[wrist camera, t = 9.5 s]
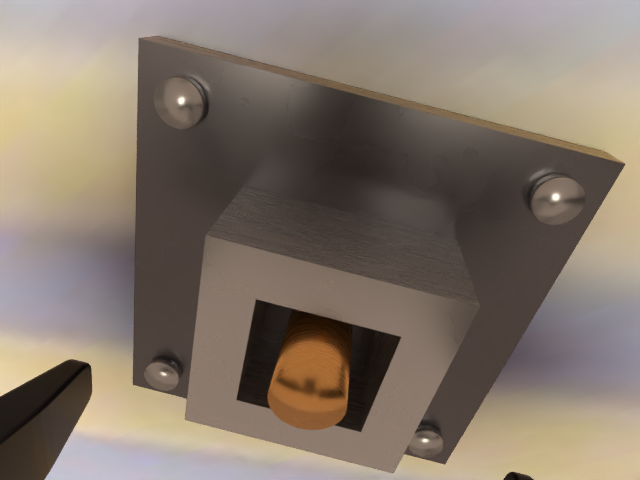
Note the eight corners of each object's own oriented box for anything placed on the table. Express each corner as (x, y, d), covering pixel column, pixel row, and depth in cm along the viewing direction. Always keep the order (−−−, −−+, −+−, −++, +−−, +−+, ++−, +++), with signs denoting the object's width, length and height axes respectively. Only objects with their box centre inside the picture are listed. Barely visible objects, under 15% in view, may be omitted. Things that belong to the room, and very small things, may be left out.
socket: (456, 240, 12) (480, 306, 9) (390, 390, 15) (393, 473, 12) (244, 184, 12) (205, 235, 9) (219, 345, 15) (184, 419, 12)
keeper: (605, 152, 11) (753, 242, 7) (441, 440, 17) (464, 591, 13) (157, 36, 11) (14, 51, 7) (145, 365, 17) (64, 489, 12)
